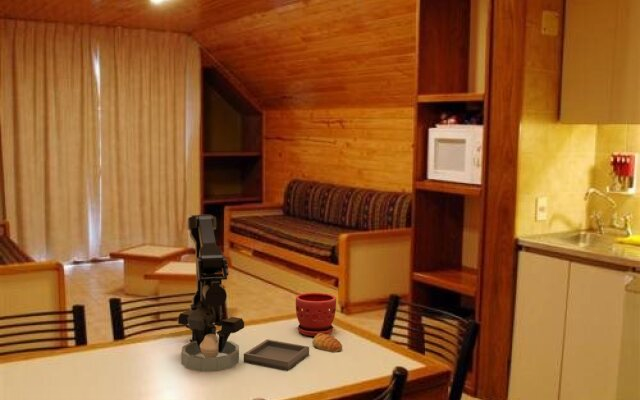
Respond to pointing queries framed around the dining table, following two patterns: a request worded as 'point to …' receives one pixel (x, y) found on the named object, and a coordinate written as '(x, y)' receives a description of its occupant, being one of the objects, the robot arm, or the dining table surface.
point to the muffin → (210, 346)
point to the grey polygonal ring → (209, 362)
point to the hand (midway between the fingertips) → (210, 350)
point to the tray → (276, 354)
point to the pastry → (326, 343)
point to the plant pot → (315, 313)
